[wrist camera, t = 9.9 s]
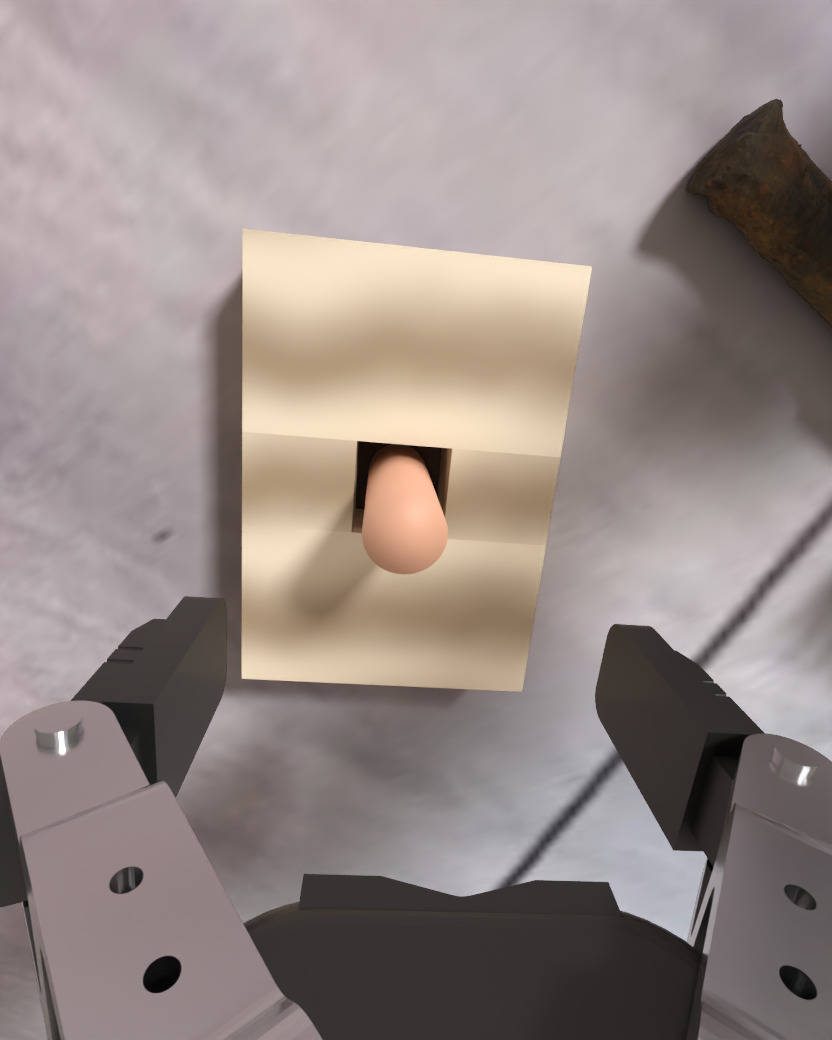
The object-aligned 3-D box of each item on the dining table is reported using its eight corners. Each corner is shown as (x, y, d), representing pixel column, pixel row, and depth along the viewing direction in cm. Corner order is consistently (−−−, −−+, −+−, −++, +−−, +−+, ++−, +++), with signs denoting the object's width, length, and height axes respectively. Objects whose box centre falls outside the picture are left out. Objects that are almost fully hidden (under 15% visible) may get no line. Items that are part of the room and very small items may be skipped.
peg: (370, 442, 29) (364, 489, 19) (429, 446, 29) (452, 496, 20) (366, 499, 30) (359, 571, 20) (423, 503, 30) (443, 577, 20)
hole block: (263, 245, 26) (242, 228, 22) (562, 277, 27) (592, 266, 23) (258, 638, 32) (241, 678, 28) (505, 651, 33) (521, 691, 29)
